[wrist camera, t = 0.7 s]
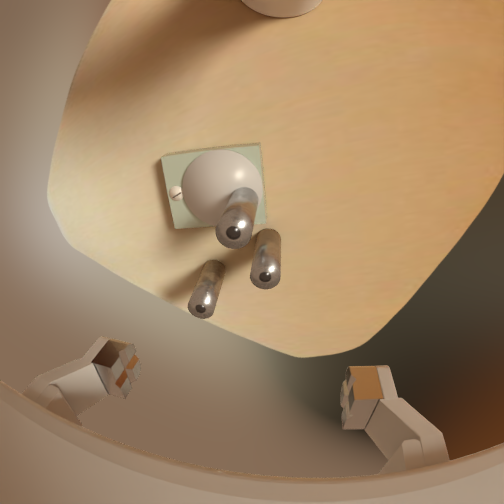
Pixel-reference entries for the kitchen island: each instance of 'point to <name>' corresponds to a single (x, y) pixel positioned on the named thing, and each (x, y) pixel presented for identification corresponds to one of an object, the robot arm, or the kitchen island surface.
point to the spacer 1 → (207, 289)
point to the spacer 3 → (266, 259)
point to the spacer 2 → (238, 219)
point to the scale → (212, 182)
